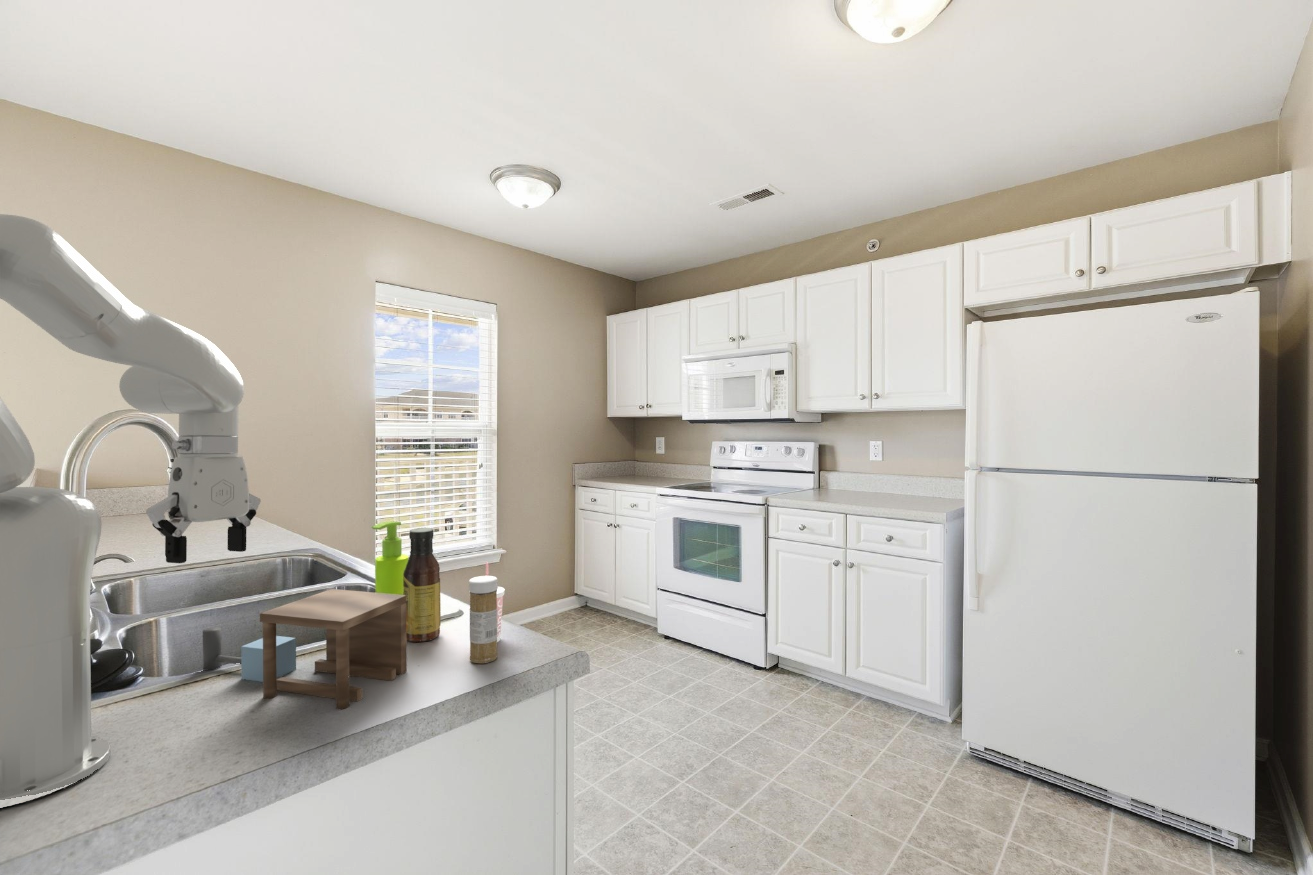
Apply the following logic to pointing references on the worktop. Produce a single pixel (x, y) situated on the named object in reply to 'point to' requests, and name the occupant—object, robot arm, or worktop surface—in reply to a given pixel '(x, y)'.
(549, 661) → the worktop surface
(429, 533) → the sauce bottle
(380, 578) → the soap dispenser
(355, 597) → the walnut shelf
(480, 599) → the sprinkles bottle
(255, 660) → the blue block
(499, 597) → the beverage cup
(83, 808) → the worktop surface
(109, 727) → the worktop surface
